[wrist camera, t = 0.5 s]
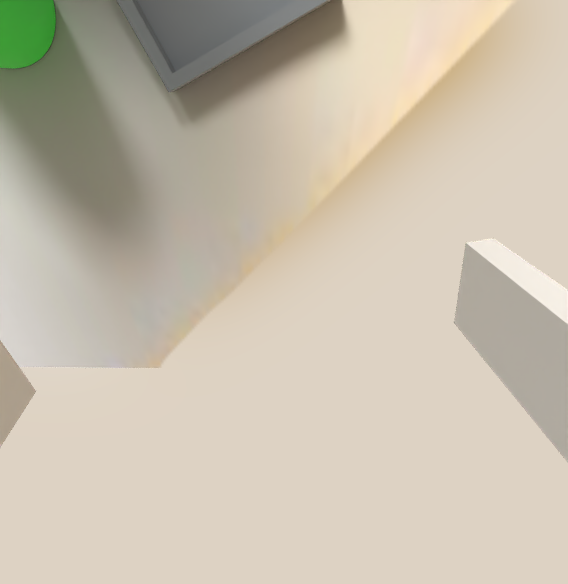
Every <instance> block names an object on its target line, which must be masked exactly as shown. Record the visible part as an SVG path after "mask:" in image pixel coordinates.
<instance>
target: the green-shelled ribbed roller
mask: <svg viewBox="0 0 568 584" xmlns="http://www.w3.org/2000/svg"><path fill="white" fill-rule="evenodd" d="M55 25H56V16H55V7H54V2H53V0H0V68H22V67H26V66H29V65H32V64H34V63H35V62H37V61H38V60H40V59H41V58H42V57H43V56H44V55H45V53H46V52H47V51H48V49H49V47H50V45H51V43H52V41H53V37H54V33H55Z"/></svg>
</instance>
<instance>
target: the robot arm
mask: <svg viewBox="0 0 568 584" xmlns="http://www.w3.org/2000/svg"><path fill="white" fill-rule="evenodd" d="M454 323H455V325H456V326H457V327H458V328H459V330H460V331H461V332H462V333H463V334H464V336H465V337H466V338H467V339H468V341H469V342H470V343H471V344H472V346H473V347H474V348H475V349H476V350H477V351H478V353H479V354H480V355H481V357H482V358H483V359H484V360H485V361H486V362H487V364H488V365H489V366H490V367H491V369H492V370H493V371H494V372H495V374H496V375H497V376H498V377H499V379H500V380H501V381H502V382H503V384H504V385H505V386H506V387H507V388H508V390H509V391H510V392H511V393H512V395H513V396H514V397H515V398H516V399H517V401H518V402H519V403H520V404H521V406H522V407H523V408H524V409H525V410H526V412H527V413H528V414H529V415H530V417H531V418H532V419H533V420H534V421H535V423H536V424H537V425H538V426H539V428H540V429H541V430H542V431H543V432H544V434H545V435H546V436H547V437H548V439H549V440H550V441H551V442H552V444H553V445H554V446H555V447H556V448H557V450H558V451H559V452H560V453H561V455H562V456H563V457H564V458H565V459H566V461H567V462H568V290H567V289H566V288H564V287H562V286H561V285H560V284H559V283H557V282H555V281H554V280H552V279H551V278H550V277H548V276H547V275H545V274H544V273H543V272H541V271H539V270H538V269H537V268H535V267H534V266H533V265H531V264H530V263H528V262H527V261H525V260H524V259H522V258H521V257H520V256H518V255H517V254H515V253H514V252H512V251H511V250H509V249H508V248H506V247H505V246H504V245H502V244H501V243H499V242H498V241H497V240H495V239H494V238H492V239H486V240H480V241H473V242H467V243H466V244H465V252H464V258H463V265H462V273H461V279H460V286H459V293H458V300H457V307H456V314H455V321H454ZM35 392H36V391H35V389H34V388H33V386H32V385H31V383H30V382H29V381H28V379H27V378H26V376H25V375H24V374H23V372H22V371H21V369H20V368H19V366H18V365H17V363H16V362H15V361H14V359H13V358H12V356H11V355H10V353H9V352H8V351H7V349H6V348H5V346H4V345H3V343H2V342H1V341H0V447H1V445H2V444H3V442H4V441H5V439H6V438H7V436H8V434H9V433H10V431H11V430H12V428H13V427H14V425H15V423H16V422H17V420H18V419H19V417H20V416H21V414H22V413H23V411H24V409H25V408H26V406H27V405H28V403H29V401H30V400H31V398H32V397H33V395H34V394H35Z"/></svg>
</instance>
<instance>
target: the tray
mask: <svg viewBox="0 0 568 584" xmlns="http://www.w3.org/2000/svg"><path fill="white" fill-rule="evenodd" d="M329 1H331V0H117V2H118V4H119V6H120V7H121V9H122V11H123V13H124V14H125V16H126V18H127V20H128V21H129V23H130V25H131V27H132V28H133V30H134V32H135V34H136V36H137V37H138V39H139V41H140V43H141V44H142V46H143V48H144V50H145V51H146V53H147V55H148V57H149V58H150V60H151V62H152V64H153V65H154V67H155V69H156V71H157V72H158V74H159V76H160V78H161V79H162V81H163V83H164V85H165V86H166V88H167V90H168V92H173V91H176V90H178V89H179V88H181V87H183V86H184V85H186V84H188V83H190V82H191V81H193V80H195V79H197V78H198V77H200V76H202V75H203V74H205V73H207V72H209V71H210V70H212V69H214V68H216V67H217V66H219V65H221V64H222V63H224V62H226V61H228V60H229V59H231V58H233V57H235V56H236V55H238V54H240V53H241V52H243V51H245V50H247V49H248V48H250V47H252V46H253V45H255V44H257V43H259V42H260V41H262V40H264V39H266V38H267V37H269V36H271V35H272V34H274V33H276V32H278V31H279V30H281V29H283V28H285V27H286V26H288V25H290V24H291V23H293V22H295V21H297V20H298V19H300V18H302V17H304V16H305V15H307V14H309V13H310V12H312V11H314V10H316V9H317V8H319V7H321V6H322V5H324V4H326V3H328V2H329Z"/></svg>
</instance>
